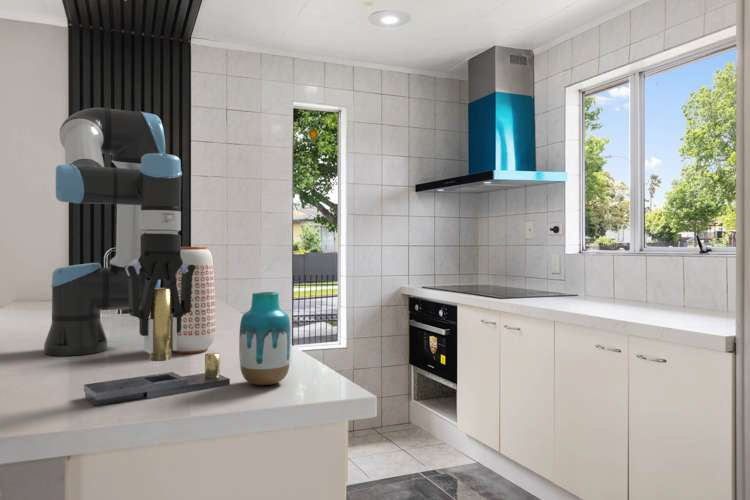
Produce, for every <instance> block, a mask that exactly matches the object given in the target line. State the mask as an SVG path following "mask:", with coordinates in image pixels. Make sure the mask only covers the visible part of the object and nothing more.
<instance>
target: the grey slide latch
mask: <svg viewBox="0 0 750 500" xmlns="http://www.w3.org/2000/svg"><path fill="white" fill-rule="evenodd" d="M220 355H221V354H220V353H219V352H208V353H205V354H204V373H197V374H189V375H183V376H182V375H180V374H179V373H176V372H174V371H170V372H162V373H156V374H149V375H143V376H142V375H141V376H135V377H129V378H119V379H113V380H107V381H100V382H93V383H86V384H83V391H84V393H85V395H84V397H85V400H86V401H88V402H89V403H90V404H92V405H93V406H95V407H96V406H100V405H101V406H102V405H108V404H113V403H120V402H125V401H126V402H127V401H130V400H131V401H132V400H137V399H144V398H145V399H152V398H153V399H154V398H159V397H163V396H170V395H175V394H176V395H177V394H182V393H189V392H195V391H200V390H206V389H212V388H218V387H224V386H229V385H231V384H230V383H231V379H230V378H229V377H226V376H224V375H222V374H221V373H220V369H221V361H220V360H221V359H220V358H221V356H220Z"/></svg>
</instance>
